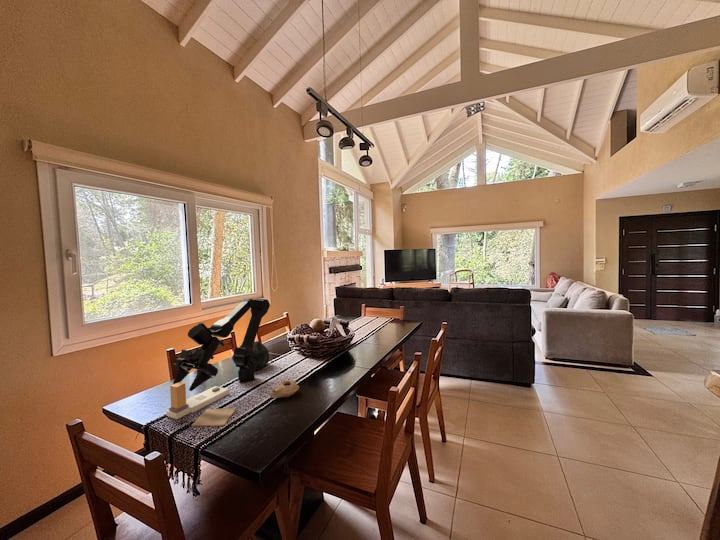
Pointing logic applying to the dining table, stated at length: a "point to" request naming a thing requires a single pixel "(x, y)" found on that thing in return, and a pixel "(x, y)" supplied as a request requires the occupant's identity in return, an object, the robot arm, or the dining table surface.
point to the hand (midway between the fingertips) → (181, 388)
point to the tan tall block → (178, 397)
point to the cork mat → (214, 417)
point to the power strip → (200, 401)
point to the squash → (260, 354)
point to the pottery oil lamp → (284, 389)
